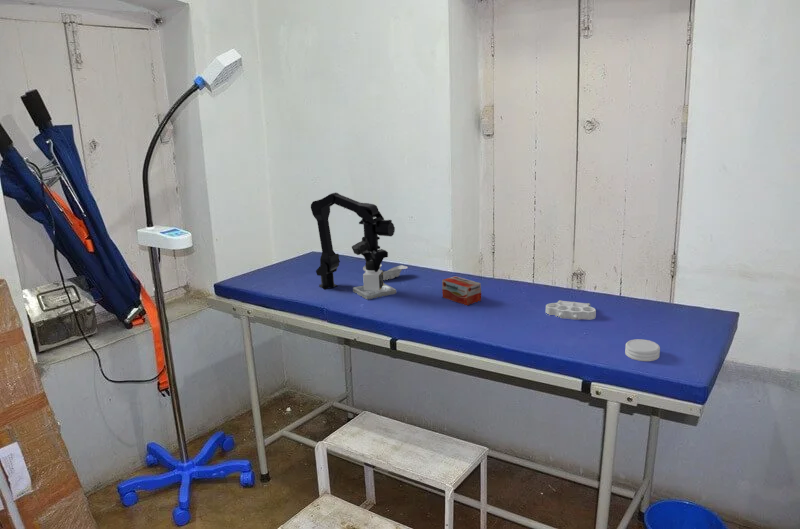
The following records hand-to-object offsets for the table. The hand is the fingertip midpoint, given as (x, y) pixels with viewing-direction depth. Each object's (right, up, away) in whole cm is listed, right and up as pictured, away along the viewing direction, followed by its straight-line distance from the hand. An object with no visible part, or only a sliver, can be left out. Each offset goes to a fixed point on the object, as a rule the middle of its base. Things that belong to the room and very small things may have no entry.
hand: (372, 270), depth 254 cm
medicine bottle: (0, -8, +2) cm, 8 cm away
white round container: (+87, -26, -70) cm, 115 cm away
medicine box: (+37, -12, -11) cm, 40 cm away
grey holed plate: (+76, -16, -33) cm, 84 cm away
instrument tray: (+1, -10, +3) cm, 10 cm away
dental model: (+3, -4, +25) cm, 25 cm away
